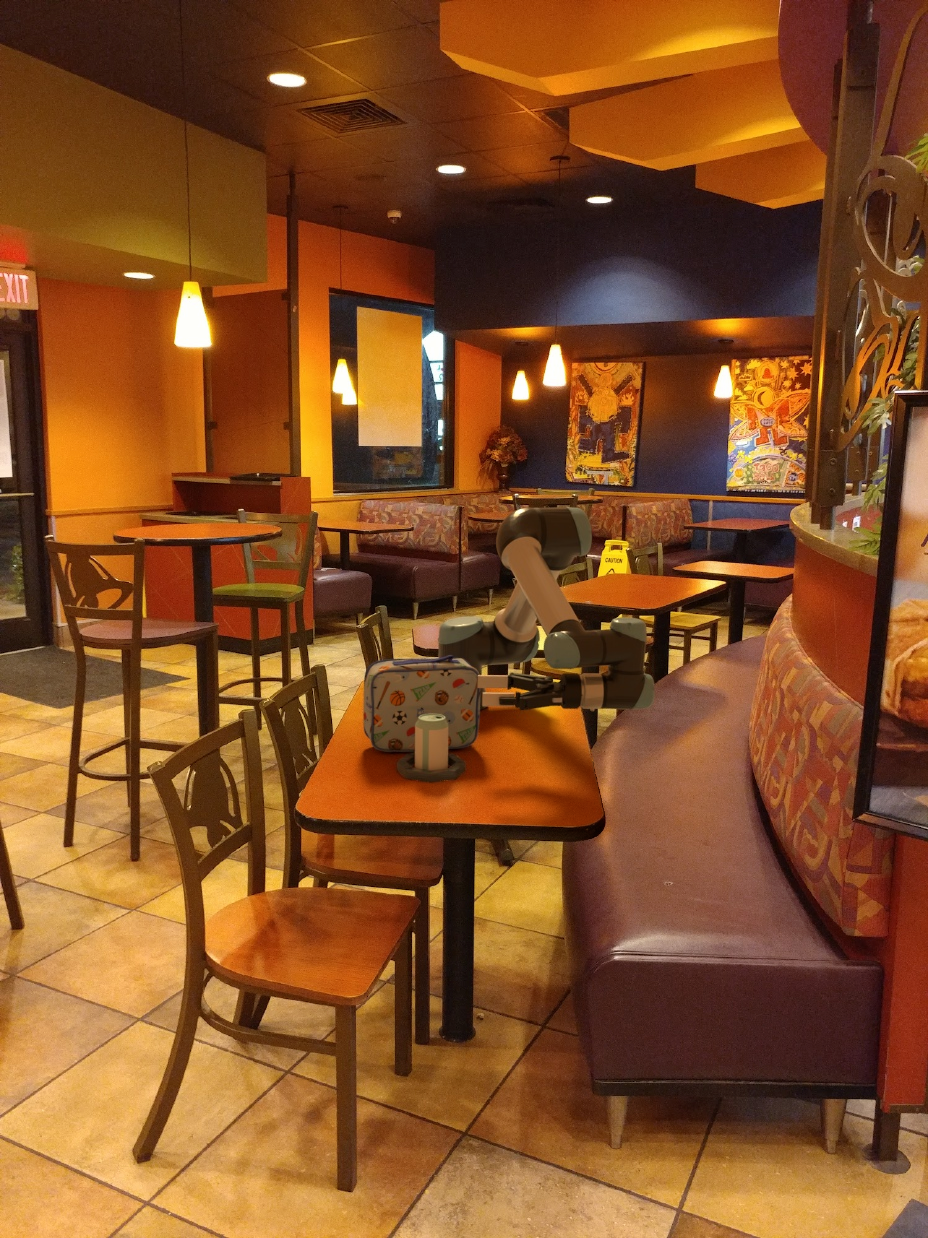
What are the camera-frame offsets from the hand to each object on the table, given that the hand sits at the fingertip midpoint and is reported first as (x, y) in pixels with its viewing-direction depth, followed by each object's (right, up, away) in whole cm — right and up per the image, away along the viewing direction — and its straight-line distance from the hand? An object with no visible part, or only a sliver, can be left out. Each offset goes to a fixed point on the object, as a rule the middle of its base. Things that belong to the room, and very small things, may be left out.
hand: (479, 690), depth 203 cm
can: (-10, -18, +4) cm, 21 cm away
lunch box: (-13, -15, +19) cm, 27 cm away
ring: (-10, -18, +4) cm, 21 cm away
